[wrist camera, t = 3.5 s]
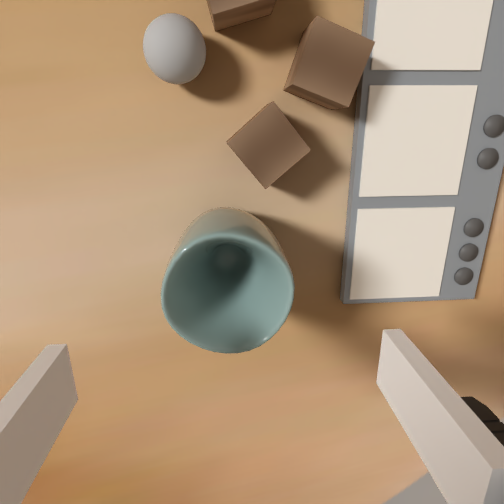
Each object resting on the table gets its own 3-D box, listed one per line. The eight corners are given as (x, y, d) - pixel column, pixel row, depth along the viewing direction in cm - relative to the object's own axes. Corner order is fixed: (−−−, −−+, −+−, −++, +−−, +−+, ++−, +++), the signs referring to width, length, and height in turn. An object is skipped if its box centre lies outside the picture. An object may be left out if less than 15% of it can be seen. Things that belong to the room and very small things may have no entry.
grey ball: (147, 22, 24) (132, 3, 21) (206, 23, 25) (202, 4, 21) (153, 87, 26) (140, 80, 22) (208, 87, 26) (205, 80, 22)
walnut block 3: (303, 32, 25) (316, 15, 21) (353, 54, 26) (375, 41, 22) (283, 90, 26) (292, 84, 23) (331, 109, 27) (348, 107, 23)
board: (370, -72, 23) (377, -82, 22) (543, -67, 24) (559, -77, 23) (339, 298, 32) (344, 305, 31) (467, 293, 33) (475, 299, 32)
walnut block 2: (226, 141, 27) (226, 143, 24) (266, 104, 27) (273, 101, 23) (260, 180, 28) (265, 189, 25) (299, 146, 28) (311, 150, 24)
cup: (290, 223, 30) (319, 267, 20) (248, 299, 32) (257, 372, 22) (204, 181, 28) (193, 208, 19) (166, 264, 30) (139, 327, 21)
